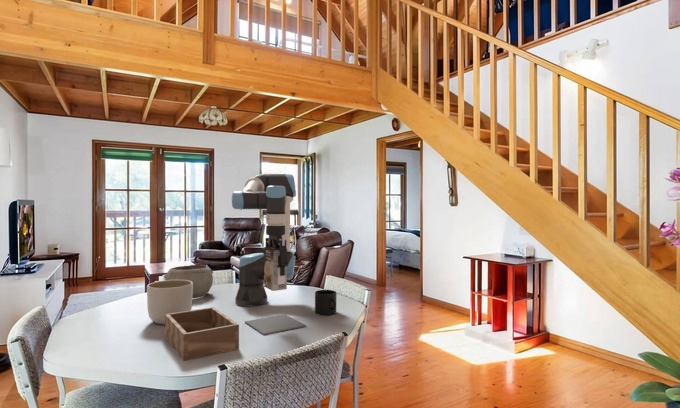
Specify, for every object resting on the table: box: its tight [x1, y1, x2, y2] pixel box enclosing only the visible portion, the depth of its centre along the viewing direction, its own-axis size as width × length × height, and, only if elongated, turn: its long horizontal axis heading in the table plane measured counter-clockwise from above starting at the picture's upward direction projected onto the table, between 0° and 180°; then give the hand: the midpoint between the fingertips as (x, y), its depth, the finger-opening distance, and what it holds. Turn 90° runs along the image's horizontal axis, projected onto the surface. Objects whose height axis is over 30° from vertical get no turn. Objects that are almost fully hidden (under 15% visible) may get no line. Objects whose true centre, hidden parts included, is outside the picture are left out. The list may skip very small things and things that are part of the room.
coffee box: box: [263, 246, 288, 292], centre depth 156 cm, size 9×6×16 cm
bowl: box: [164, 264, 214, 300], centre depth 203 cm, size 23×23×15 cm
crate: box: [164, 306, 240, 361], centre depth 136 cm, size 26×17×8 cm, turn 35°
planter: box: [146, 279, 193, 326], centre depth 160 cm, size 17×17×15 cm
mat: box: [244, 313, 308, 336], centre depth 157 cm, size 18×18×1 cm
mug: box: [314, 289, 337, 316], centre depth 173 cm, size 9×12×9 cm
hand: (275, 281), depth 156 cm, fingers closed on coffee box, 9 cm apart
